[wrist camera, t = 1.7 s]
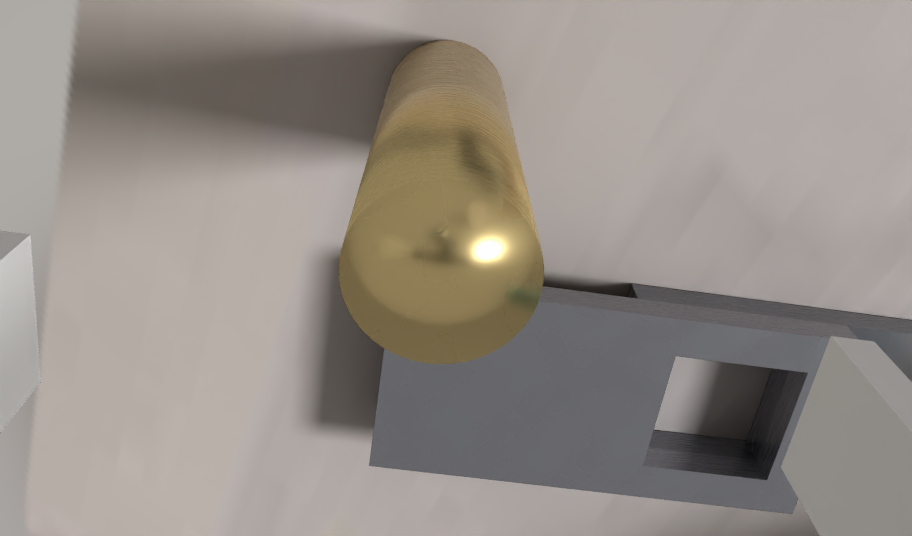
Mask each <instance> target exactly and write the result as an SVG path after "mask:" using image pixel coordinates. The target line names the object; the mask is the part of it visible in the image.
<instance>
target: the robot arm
mask: <svg viewBox="0 0 912 536" xmlns="http://www.w3.org/2000/svg"><path fill="white" fill-rule="evenodd" d="M40 383H41V379H40V364H39V350H38V336H37V322H36V307H35V293H34V279H33V265H32V251H31V236H30V234H22V233H14V232H6V231H0V433H1V431H2V430H3V429H4V428H5V426H6V425H7V424H8V423H9V421H10V420H11V419H12V417H13V416H14V415H15V414H16V413H17V411H18V410H19V409H20V407H21V406H22V405H23V404H24V403H25V401H26V400H27V399H28V398H29V396H30V395H31V394H32V393H33V391H34V390H35V389H36V388H37V386H38V385H39V384H40ZM781 469H782V470H783V472H784V474H785V476H786V477H787V479H788V481H789V483H790V484H791V486H792V488H793V490H794V491H795V493H796V495H797V497H798V499H799V500H800V502H801V504H802V506H803V507H804V509H805V511H806V513H807V514H808V516H809V518H810V520H811V521H812V523H813V525H814V527H815V528H816V530H817V532H818V534H819V536H912V382H911V381H910V380H909V379H908V378H907V376H906V375H905V374H904V373H903V372H902V371H901V370H900V369H899V368H898V367H897V366H896V365H895V363H894V362H893V361H892V360H891V359H890V358H889V357H888V356H887V355H886V354H885V353H884V352H883V350H882V349H881V348H880V347H879V346H878V345H877V344H876V343H875V342H874V341H866V340H858V339H851V338H843V337H835V336H831V337H830V339H829V342H828V345H827V347H826V350H825V352H824V355H823V358H822V360H821V363H820V366H819V368H818V371H817V373H816V376H815V379H814V381H813V384H812V387H811V389H810V392H809V394H808V397H807V400H806V402H805V405H804V408H803V410H802V413H801V416H800V418H799V421H798V423H797V426H796V429H795V431H794V434H793V437H792V439H791V442H790V444H789V447H788V450H787V452H786V455H785V458H784V460H783V463H782V465H781Z"/></svg>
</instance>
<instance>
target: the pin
mask: <svg viewBox="0 0 912 536" xmlns="http://www.w3.org/2000/svg"><path fill="white" fill-rule="evenodd" d="M543 280H544V264H543V257H542V252H541V247H540V243H539V239H538V235H537V230H536V226H535V222H534V217H533V213H532V209H531V205H530V200H529V196H528V192H527V188H526V183H525V179H524V175H523V171H522V166H521V162H520V158H519V154H518V149H517V145H516V141H515V137H514V132H513V128H512V124H511V120H510V115H509V111H508V107H507V103H506V98H505V94H504V90H503V86H502V82H501V79H500V76H499V74H498V72H497V70H496V68H495V67H494V65H493V64H492V63H491V61H490V60H489V59H488V58H487V57H486V56H485V55H484V54H483V53H481V52H480V51H479V50H477V49H476V48H474V47H472V46H470V45H467V44H465V43H462V42H457V41H450V40H440V41H434V42H430V43H427V44H424V45H421V46H419V47H417V48H416V49H414V50H413V51H411V52H410V53H409V54H407V55H406V56H405V57H404V58H403V59H402V61H401V62H400V63H399V64H398V66H397V67H396V69H395V71H394V73H393V75H392V77H391V80H390V83H389V87H388V90H387V94H386V97H385V101H384V104H383V108H382V111H381V115H380V118H379V121H378V125H377V128H376V132H375V135H374V139H373V142H372V146H371V149H370V152H369V156H368V159H367V163H366V166H365V170H364V173H363V177H362V180H361V184H360V187H359V190H358V194H357V197H356V201H355V204H354V208H353V211H352V215H351V218H350V221H349V225H348V228H347V232H346V235H345V239H344V242H343V246H342V249H341V254H340V259H339V283H340V289H341V293H342V296H343V300H344V302H345V304H346V307H347V309H348V311H349V313H350V314H351V316H352V318H353V319H354V321H355V322H356V323H357V325H358V326H359V327H360V328H361V330H362V331H363V332H364V333H365V334H366V335H367V336H368V337H370V338H371V339H372V340H373V341H374V342H376V343H377V344H378V345H380V346H381V347H383V348H385V349H386V350H388V351H390V352H392V353H394V354H396V355H399V356H401V357H403V358H407V359H410V360H413V361H417V362H423V363H429V364H454V363H461V362H467V361H470V360H474V359H477V358H480V357H482V356H485V355H487V354H490V353H492V352H493V351H495V350H497V349H499V348H501V347H502V346H503V345H505V344H506V343H508V342H509V341H510V340H512V339H513V338H514V337H515V336H516V335H517V334H518V333H519V332H520V331H521V330H522V328H523V327H524V326H525V325H526V324H527V322H528V321H529V319H530V318H531V316H532V314H533V313H534V311H535V309H536V306H537V304H538V302H539V299H540V296H541V292H542V288H543Z"/></svg>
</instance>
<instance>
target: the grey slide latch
mask: <svg viewBox="0 0 912 536" xmlns="http://www.w3.org/2000/svg"><path fill="white" fill-rule="evenodd" d="M831 336H835V337H843V338H851V339H858V340H866V341H874V342H875V343H876V344H877V345H878V346H879V347H880V348H881V349H882V350H883V352H884V353H885V354H886V355H887V356H888V357H889V358H890V359H891V360H892V361H893V362H894V363H895V365H896V366H897V367H898V368H899V369H900V370H901V371H902V372H903V373H904V374H905V375H906V376H907V378H908V379H909V380H910V381H911V382H912V320H905V319H898V318H890V317H882V316H875V315H867V314H859V313H852V312H844V311H837V310H829V309H821V308H814V307H806V306H799V305H791V304H783V303H776V302H768V301H760V300H753V299H745V298H738V297H730V296H722V295H715V294H707V293H700V292H692V291H684V290H677V289H669V288H661V287H654V286H646V285H639V284H631V288H630V292H629V296H628V297H621V296H614V295H606V294H598V293H591V292H583V291H575V290H568V289H560V288H552V287H545V286H543V288H542V292H541V296H540V299H539V302H538V304H537V306H536V309H535V311H534V313H533V314H532V316H531V318H530V319H529V321H528V322H527V324H526V325H525V326H524V327H523V328H522V330H521V331H520V332H519V333H518V334H517V335H516V336H515V337H514V338H513V339H512V340H510V341H509V342H508V343H506V344H505V345H503V346H502V347H501V348H499V349H497V350H495V351H493V352H492V353H490V354H487V355H485V356H482V357H480V358H477V359H474V360H470V361H467V362H461V363H454V364H429V363H423V362H417V361H413V360H410V359H407V358H403V357H401V356H399V355H396V354H394V353H392V352H390V351H388V350H386V349H385V348H384V353H383V361H382V369H381V377H380V385H379V393H378V400H377V408H376V416H375V424H374V432H373V439H372V447H371V455H370V463H369V466H375V467H384V468H393V469H401V470H410V471H419V472H428V473H436V474H445V475H454V476H463V477H471V478H480V479H489V480H498V481H507V482H515V483H524V484H533V485H542V486H550V487H559V488H568V489H577V490H585V491H594V492H603V493H612V494H620V495H629V496H638V497H647V498H655V499H664V500H673V501H682V502H691V503H699V504H708V505H717V506H726V507H734V508H743V509H752V510H761V511H769V512H778V513H787V514H792V513H793V510H794V508H795V505H796V503H797V500H798V497H797V495H796V493H795V491H794V490H793V488H792V486H791V484H790V483H789V481H788V479H787V477H786V476H785V474H784V472H783V470H782V469H781V465H782V463H783V460H784V458H785V455H786V452H787V450H788V447H789V444H790V442H791V439H792V437H793V434H794V431H795V429H796V426H797V423H798V421H799V418H800V416H801V413H802V410H803V408H804V405H805V402H806V400H807V397H808V394H809V392H810V389H811V387H812V384H813V381H814V379H815V376H816V373H817V371H818V368H819V366H820V363H821V360H822V358H823V355H824V352H825V350H826V347H827V345H828V342H829V339H830V337H831ZM676 356H679V357H687V358H694V359H702V360H710V361H718V362H726V363H734V364H742V365H750V366H758V367H766V368H773V370H772V373H771V376H770V378H769V381H768V384H767V387H766V390H765V392H764V395H763V398H762V401H761V403H760V406H759V409H758V412H757V415H756V417H755V420H754V423H753V426H752V428H751V431H750V434H749V437H748V440H747V441H741V440H732V439H724V438H716V437H707V436H699V435H691V434H682V433H674V432H666V431H657V430H654V427H655V423H656V420H657V417H658V413H659V410H660V407H661V403H662V400H663V397H664V393H665V390H666V387H667V383H668V380H669V377H670V373H671V370H672V367H673V363H674V360H675V357H676Z"/></svg>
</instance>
